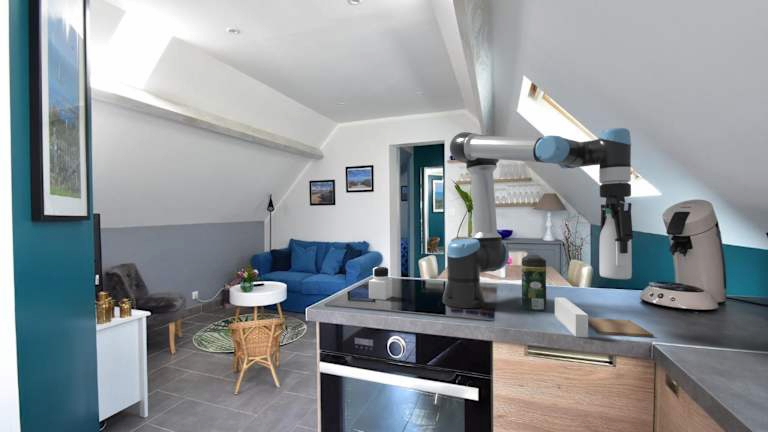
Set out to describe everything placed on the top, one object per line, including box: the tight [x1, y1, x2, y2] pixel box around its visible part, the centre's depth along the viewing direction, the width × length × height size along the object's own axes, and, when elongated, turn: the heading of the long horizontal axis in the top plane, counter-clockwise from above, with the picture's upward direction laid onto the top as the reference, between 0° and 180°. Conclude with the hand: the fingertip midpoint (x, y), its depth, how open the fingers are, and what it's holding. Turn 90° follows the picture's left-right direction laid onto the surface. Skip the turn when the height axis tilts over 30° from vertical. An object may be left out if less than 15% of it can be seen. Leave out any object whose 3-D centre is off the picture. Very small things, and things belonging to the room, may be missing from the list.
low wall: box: [554, 296, 589, 338], centre depth 103 cm, size 3×20×6 cm, turn 168°
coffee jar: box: [521, 254, 547, 312], centre depth 122 cm, size 10×8×19 cm
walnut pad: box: [588, 317, 655, 338], centre depth 100 cm, size 13×13×1 cm
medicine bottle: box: [368, 266, 393, 301], centre depth 138 cm, size 7×7×12 cm
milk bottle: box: [598, 208, 633, 280], centre depth 100 cm, size 8×8×20 cm
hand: (615, 263), depth 100 cm, fingers closed on milk bottle, 8 cm apart
